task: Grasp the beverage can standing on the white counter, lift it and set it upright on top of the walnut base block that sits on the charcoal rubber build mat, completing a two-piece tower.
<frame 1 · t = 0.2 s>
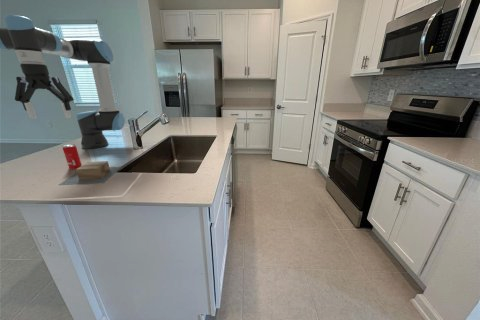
hand: (51, 118, 85), 27 cm above the countertop, fingers open, 13 cm apart
base block: (95, 174, 94), point 1 cm above the countertop, touching build mat
beverage can: (76, 168, 102), on the countertop
build mat: (93, 176, 94), on the countertop
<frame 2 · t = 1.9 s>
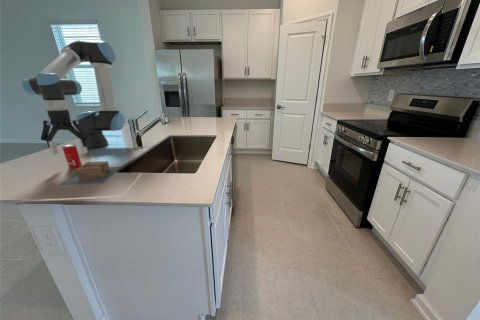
hand: (70, 153, 99), 8 cm above the countertop, fingers open, 13 cm apart
nothing on the countertop moved.
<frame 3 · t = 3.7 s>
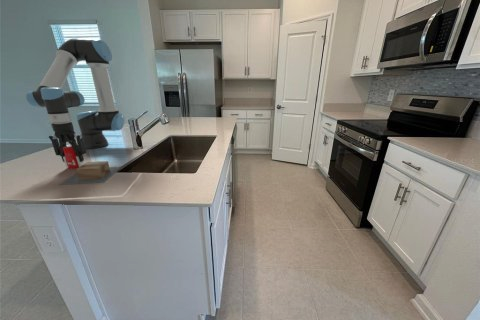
hand: (75, 167, 102), 0 cm above the countertop, fingers closed on beverage can, 5 cm apart
beverage can: (76, 168, 102), on the countertop, touching gripper
everything else where it was.
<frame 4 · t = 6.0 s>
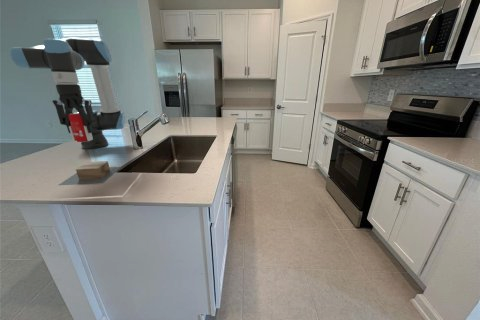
hand: (83, 140, 88), 17 cm above the countertop, fingers closed on beverage can, 5 cm apart
beverage can: (83, 141, 88), point 17 cm above the countertop, touching gripper
everything else where it was.
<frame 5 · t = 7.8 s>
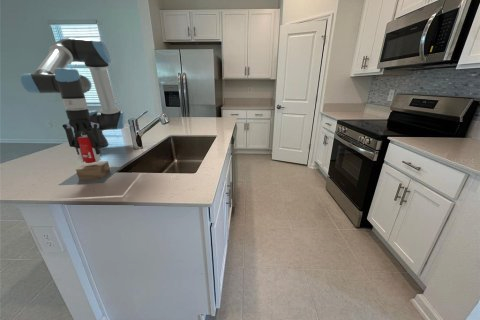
hand: (91, 160, 91), 8 cm above the countertop, fingers closed on beverage can, 5 cm apart
beverage can: (91, 161, 91), point 7 cm above the countertop, touching gripper
everything else where it was.
when the fingers open (7 cm above the countertop, at t = 8.6 s): beverage can drops 1 cm, resting on base block.
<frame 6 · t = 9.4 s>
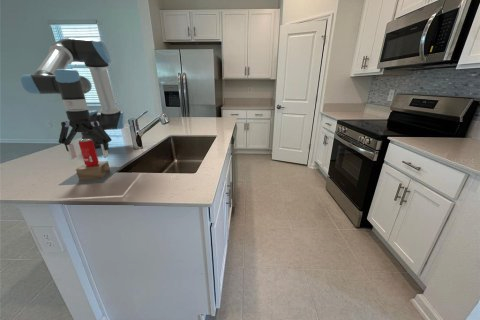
hand: (90, 157, 90), 9 cm above the countertop, fingers open, 13 cm apart
base block: (95, 174, 94), point 1 cm above the countertop, touching beverage can, build mat
beverage can: (92, 165, 92), point 5 cm above the countertop, touching base block
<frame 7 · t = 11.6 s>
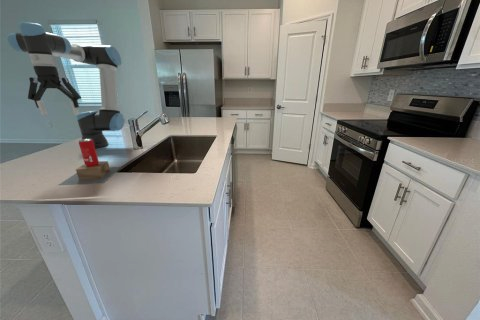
hand: (61, 114, 95), 27 cm above the countertop, fingers open, 13 cm apart
nothing on the countertop moved.
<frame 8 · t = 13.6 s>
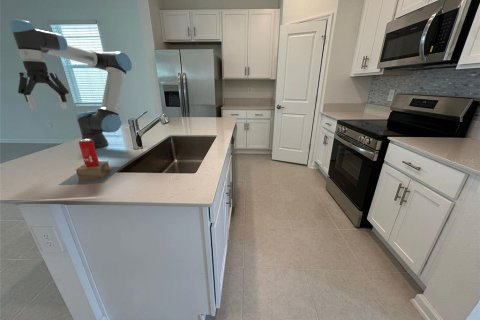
hand: (49, 109, 98), 29 cm above the countertop, fingers open, 13 cm apart
nothing on the countertop moved.
at the end: beverage can 0.0 cm from the base block (horizontally); beverage can touching base block; beverage can tilted 0° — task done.
